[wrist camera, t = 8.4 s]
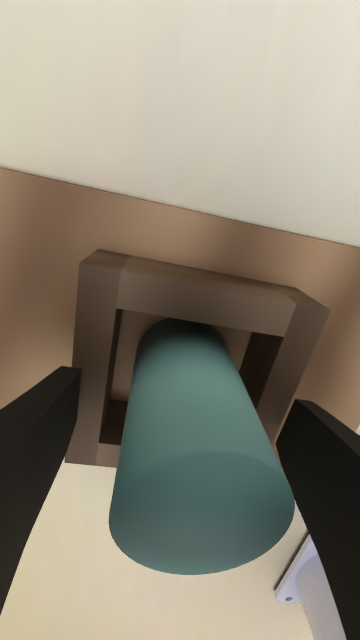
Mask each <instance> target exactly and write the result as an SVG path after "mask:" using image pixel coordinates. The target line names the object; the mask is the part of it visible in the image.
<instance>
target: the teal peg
mask: <svg viewBox="0 0 360 640" xmlns="http://www.w3.org/2000/svg"><path fill="white" fill-rule="evenodd" d="M294 509H295V502H294V495H293V493H292V490H291V487H290V485H289V483H288V481H287V478H286V476H285V474H284V472H283V470H282V467H281V465H280V463H279V461H278V459H277V456H276V454H275V452H274V450H273V448H272V445H271V443H270V441H269V439H268V437H267V434H266V432H265V430H264V428H263V426H262V423H261V421H260V419H259V417H258V415H257V412H256V410H255V408H254V406H253V404H252V401H251V399H250V397H249V395H248V393H247V390H246V388H245V386H244V384H243V381H242V379H241V377H240V375H239V373H238V370H237V368H236V366H235V364H234V362H233V359H232V357H231V355H230V353H229V351H228V348H227V346H226V344H225V342H224V340H223V338H222V336H221V334H220V333H219V332H218V330H217V329H216V328H215V327H214V326H213V325H211V324H205V323H199V322H193V321H187V320H181V319H176V318H170V317H168V318H165V319H163V320H161V321H159V322H157V323H155V324H154V325H153V326H151V327H150V328H149V329H148V330H147V331H146V332H145V333H144V335H143V336H142V338H141V340H140V342H139V344H138V348H137V352H136V358H135V364H134V370H133V376H132V382H131V388H130V394H129V400H128V406H127V412H126V417H125V423H124V429H123V435H122V441H121V447H120V453H119V459H118V465H117V471H116V477H115V483H114V489H113V495H112V501H111V507H110V513H109V528H110V532H111V535H112V538H113V539H114V541H115V543H116V545H117V546H118V547H119V548H120V549H121V551H122V552H123V553H125V554H126V555H127V556H128V557H129V558H131V559H132V560H134V561H135V562H137V563H139V564H141V565H143V566H145V567H148V568H151V569H153V570H157V571H161V572H166V573H171V574H181V575H200V574H209V573H216V572H221V571H225V570H229V569H232V568H235V567H238V566H241V565H243V564H246V563H248V562H250V561H252V560H254V559H256V558H258V557H259V556H261V555H262V554H264V553H265V552H267V551H268V550H269V549H271V548H272V547H273V546H274V545H275V544H276V543H277V542H278V541H279V540H280V539H281V538H282V537H283V536H284V534H285V533H286V531H287V530H288V528H289V526H290V524H291V522H292V519H293V515H294Z"/></svg>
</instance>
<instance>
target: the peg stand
mask: <svg viewBox="0 0 360 640" xmlns="http://www.w3.org/2000/svg"><path fill="white" fill-rule="evenodd" d="M168 317H170V318H176V319H181V320H187V321H193V322H199V323H205V324H211V325H213V326H214V327H215V328H216V329H217V330H218V332H219V333H220V334H221V336H222V338H223V340H224V342H225V344H226V346H227V348H228V351H229V353H230V355H231V357H232V359H233V362H234V364H235V366H236V368H237V370H238V373H239V375H240V377H241V379H242V381H243V384H244V386H245V388H246V390H247V393H248V395H249V397H250V399H251V401H252V404H253V406H254V408H255V410H256V412H257V415H258V417H259V419H260V421H261V423H262V426H263V428H264V430H265V432H266V434H267V437H268V439H269V441H270V443H271V445H272V448H273V450H274V452H275V454H276V456H277V459H278V461H279V463H280V465H281V462H280V459H279V455H278V451H277V447H276V444H275V443H276V441H277V438H278V436H279V434H280V432H281V429H282V427H283V425H284V422H285V420H286V418H287V416H288V413H289V411H290V409H291V407H292V404H293V402H294V400H295V399H301V400H308V401H312V402H314V403H315V404H317V405H318V406H320V407H321V408H323V409H324V410H326V411H327V412H329V413H330V414H331V415H333V416H334V417H335V418H337V419H338V420H339V421H341V422H342V423H343V424H345V425H346V426H347V427H349V428H350V429H351V430H353V431H354V432H355V431H356V429H357V427H358V426H359V424H360V248H356V247H352V246H347V245H343V244H338V243H334V242H329V241H325V240H320V239H316V238H311V237H307V236H302V235H298V234H294V233H289V232H285V231H280V230H276V229H271V228H267V227H262V226H258V225H253V224H249V223H244V222H240V221H235V220H231V219H226V218H222V217H217V216H213V215H208V214H204V213H200V212H195V211H191V210H186V209H182V208H177V207H173V206H168V205H164V204H159V203H155V202H150V201H146V200H141V199H137V198H132V197H128V196H123V195H119V194H115V193H110V192H106V191H101V190H97V189H92V188H88V187H83V186H79V185H74V184H70V183H65V182H61V181H56V180H52V179H47V178H43V177H38V176H34V175H29V174H25V173H21V172H16V171H12V170H7V169H3V168H0V409H2V408H3V407H5V406H6V405H8V404H9V403H10V402H12V401H13V400H15V399H16V398H18V397H19V396H20V395H22V394H23V393H25V392H26V391H28V390H29V389H30V388H32V387H33V386H34V385H36V384H37V383H39V382H40V381H41V380H43V379H44V378H45V377H47V376H48V375H49V374H51V373H52V372H53V371H55V370H56V369H57V368H59V367H60V366H67V367H74V368H81V369H82V370H81V382H80V393H79V404H78V415H77V422H76V425H75V428H74V431H73V434H72V437H71V440H70V443H69V446H68V450H67V452H66V454H65V463H74V464H84V465H95V466H105V467H115V468H117V465H118V459H119V453H120V447H121V441H122V435H123V429H124V423H125V417H126V412H127V406H128V400H129V394H130V388H131V382H132V376H133V370H134V364H135V358H136V352H137V348H138V344H139V342H140V340H141V338H142V336H143V335H144V333H145V332H146V331H147V330H148V329H149V328H150V327H151V326H153V325H154V324H155V323H157V322H159V321H161V320H163V319H165V318H168ZM281 467H282V465H281Z"/></svg>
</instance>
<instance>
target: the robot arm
mask: <svg viewBox="0 0 360 640" xmlns="http://www.w3.org/2000/svg"><path fill="white" fill-rule="evenodd" d="M81 370H82V369H81V368H74V367H67V366H60V367H59V368H57V369H56V370H55V371H53V372H52V373H51V374H49V375H48V376H47V377H45V378H44V379H43V380H41V381H40V382H39V383H37V384H36V385H34V386H33V387H32V388H30V389H29V390H28V391H26V392H25V393H23V394H22V395H20V396H19V397H18V398H16V399H15V400H13V401H12V402H10V403H9V404H8V405H6V406H5V407H3V408H2V409H0V615H1V612H2V609H3V606H4V603H5V600H6V597H7V594H8V592H9V589H10V586H11V583H12V580H13V578H14V575H15V572H16V569H17V567H18V564H19V561H20V558H21V555H22V553H23V550H24V547H25V545H26V542H27V540H28V538H29V535H30V533H31V530H32V528H33V526H34V523H35V521H36V519H37V517H38V515H39V512H40V510H41V508H42V506H43V503H44V501H45V499H46V497H47V495H48V492H49V490H50V488H51V486H52V483H53V481H54V479H55V477H56V475H57V472H58V470H59V468H60V466H61V463H62V461H63V459H64V457H65V454H66V452H67V450H68V446H69V443H70V440H71V437H72V434H73V431H74V428H75V425H76V422H77V415H78V404H79V393H80V382H81ZM275 444H276V447H277V451H278V455H279V459H280V462H281V465H282V469H283V472H284V474H285V476H286V478H287V481H288V483H289V485H290V487H291V490H292V493H293V495H294V499H295V501H296V504H297V506H298V508H299V511H300V513H301V515H302V517H303V520H304V522H305V524H306V527H307V529H308V531H309V535H308V537H307V538H306V540H305V542H304V543H303V545H302V547H301V549H300V550H299V552H298V554H297V555H296V557H295V559H294V560H293V562H292V564H291V565H290V567H289V569H288V570H287V572H286V574H285V575H284V577H283V579H282V581H281V582H280V584H279V586H278V587H277V589H276V591H275V593H274V595H275V598H276V600H277V601H278V602H292V603H302V605H303V608H304V611H305V614H306V617H307V620H308V623H309V626H310V629H311V631H312V634H313V637H314V640H360V436H359V435H358V434H357V433H355V432H354V431H353V430H351V429H350V428H349V427H347V426H346V425H345V424H343V423H342V422H341V421H339V420H338V419H337V418H335V417H334V416H333V415H331V414H330V413H329V412H327V411H326V410H324V409H323V408H321V407H320V406H318V405H317V404H315V403H314V402H312V401H308V400H301V399H295V400H294V402H293V404H292V407H291V409H290V411H289V413H288V416H287V418H286V420H285V422H284V425H283V427H282V429H281V432H280V434H279V436H278V438H277V441H276V443H275Z"/></svg>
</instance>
